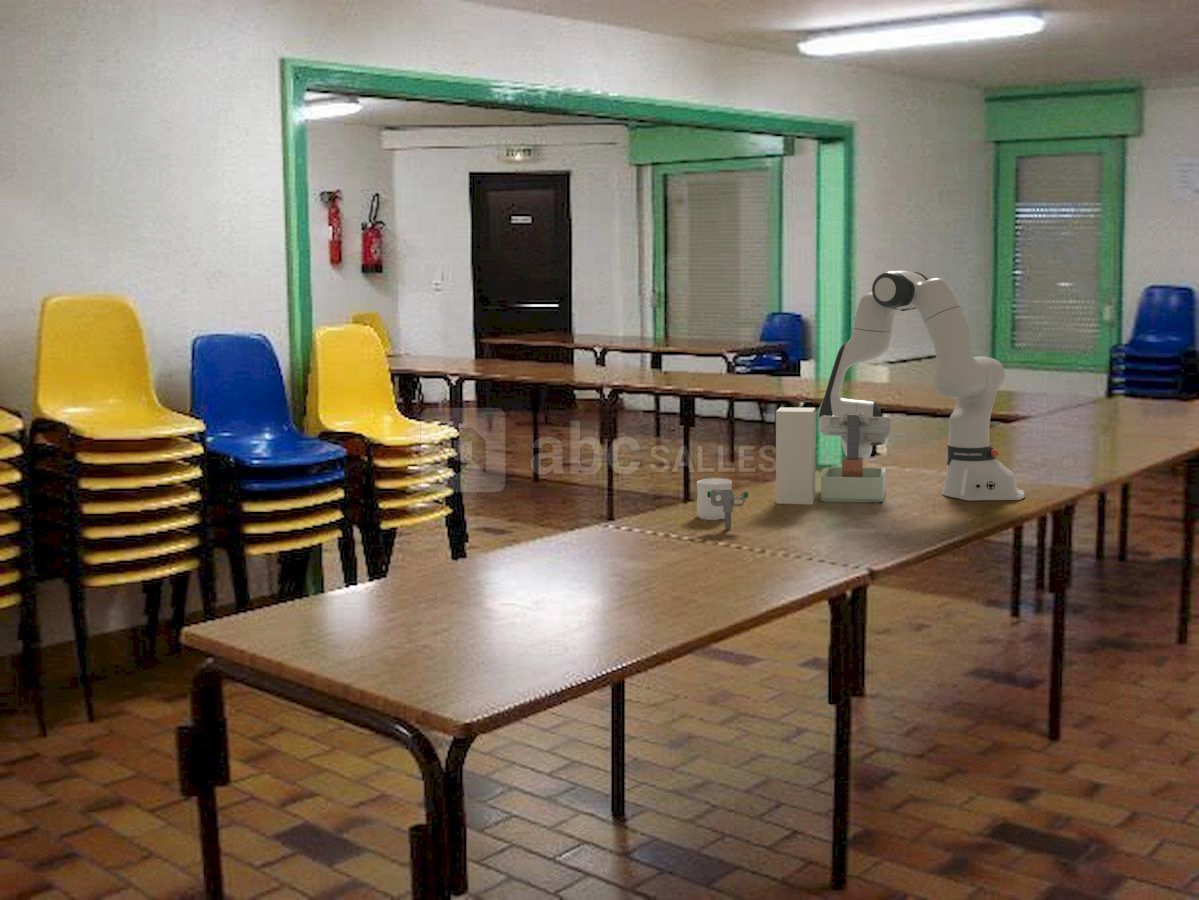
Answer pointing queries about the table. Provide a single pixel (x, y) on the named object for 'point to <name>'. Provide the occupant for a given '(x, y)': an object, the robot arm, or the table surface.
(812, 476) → the cream block
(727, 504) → the mechanical component
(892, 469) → the table surface
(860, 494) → the green bin
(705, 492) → the cup
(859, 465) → the grey long block
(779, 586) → the table surface
